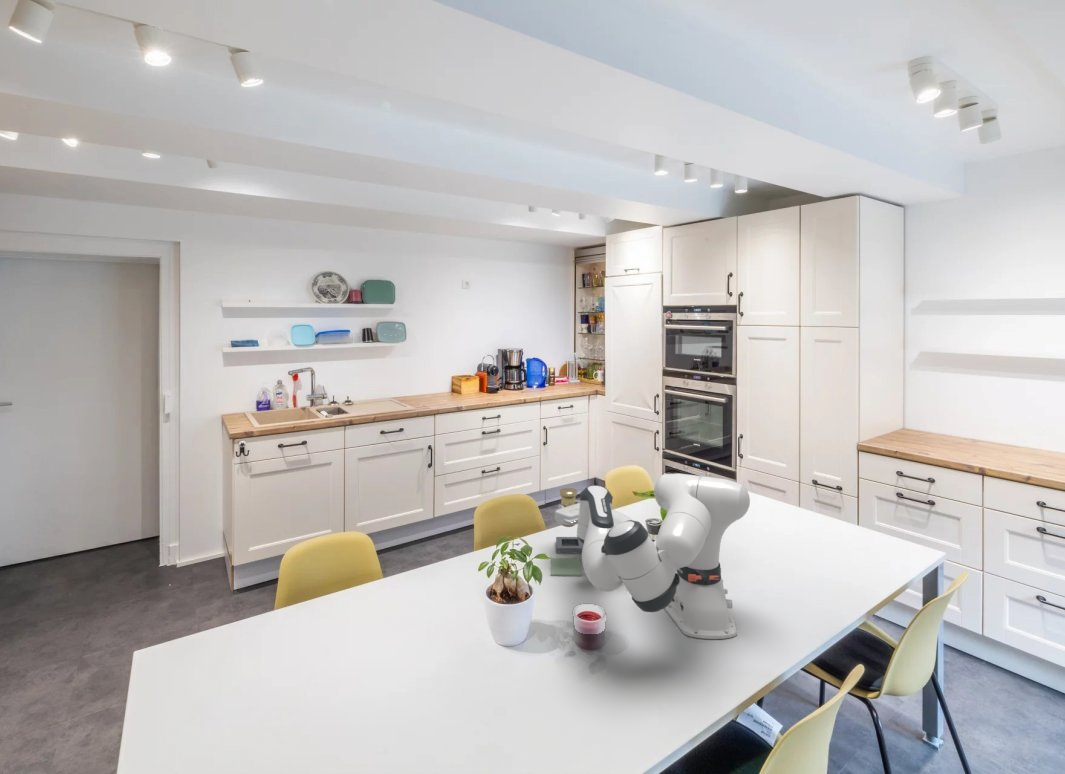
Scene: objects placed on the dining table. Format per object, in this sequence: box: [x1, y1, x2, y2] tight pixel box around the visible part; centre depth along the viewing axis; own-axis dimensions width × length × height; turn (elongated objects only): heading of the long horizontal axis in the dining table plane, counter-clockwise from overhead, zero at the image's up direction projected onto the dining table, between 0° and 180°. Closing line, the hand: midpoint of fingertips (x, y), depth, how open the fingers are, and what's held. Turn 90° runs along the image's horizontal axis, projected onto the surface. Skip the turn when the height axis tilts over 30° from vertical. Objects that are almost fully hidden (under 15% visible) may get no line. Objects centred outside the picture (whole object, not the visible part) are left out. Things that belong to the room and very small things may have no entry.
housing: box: [555, 536, 584, 555], centre depth 197 cm, size 10×10×2 cm
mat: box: [550, 557, 583, 577], centre depth 183 cm, size 12×10×1 cm
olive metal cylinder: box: [559, 487, 578, 528], centre depth 192 cm, size 6×6×12 cm
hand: (566, 504), depth 192 cm, fingers closed on olive metal cylinder, 5 cm apart
